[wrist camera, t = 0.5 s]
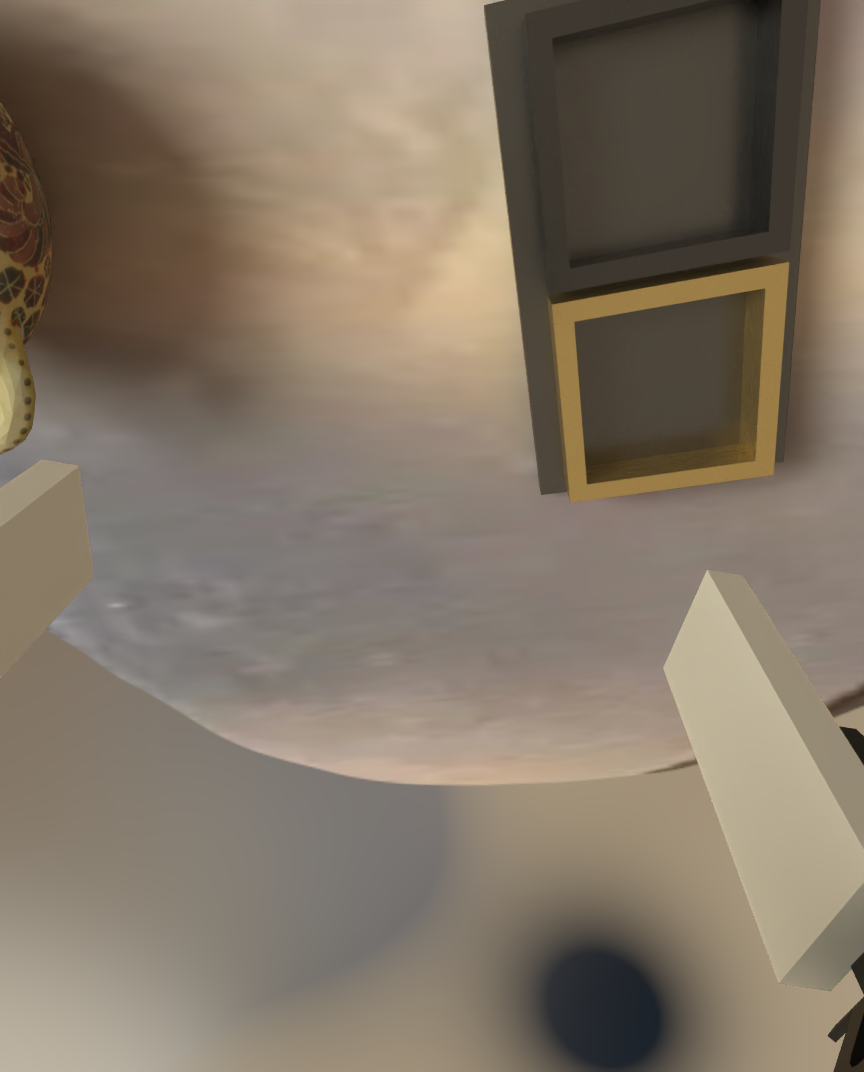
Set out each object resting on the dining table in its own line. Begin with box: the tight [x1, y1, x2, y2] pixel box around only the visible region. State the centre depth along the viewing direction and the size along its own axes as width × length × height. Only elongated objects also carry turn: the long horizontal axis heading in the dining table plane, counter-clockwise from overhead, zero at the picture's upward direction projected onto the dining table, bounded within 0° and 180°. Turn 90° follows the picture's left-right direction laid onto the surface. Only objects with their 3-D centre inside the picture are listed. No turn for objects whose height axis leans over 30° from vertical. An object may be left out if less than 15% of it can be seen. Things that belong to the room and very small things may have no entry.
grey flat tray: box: [484, 0, 820, 503], centre depth 33 cm, size 24×14×4 cm, turn 11°
